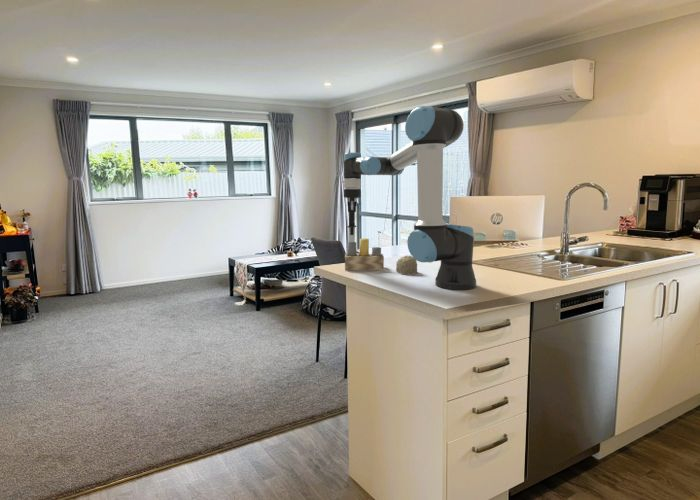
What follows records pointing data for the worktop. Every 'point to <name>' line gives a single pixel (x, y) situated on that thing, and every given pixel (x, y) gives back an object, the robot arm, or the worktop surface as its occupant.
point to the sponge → (406, 265)
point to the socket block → (364, 262)
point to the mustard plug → (364, 247)
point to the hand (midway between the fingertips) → (351, 241)
